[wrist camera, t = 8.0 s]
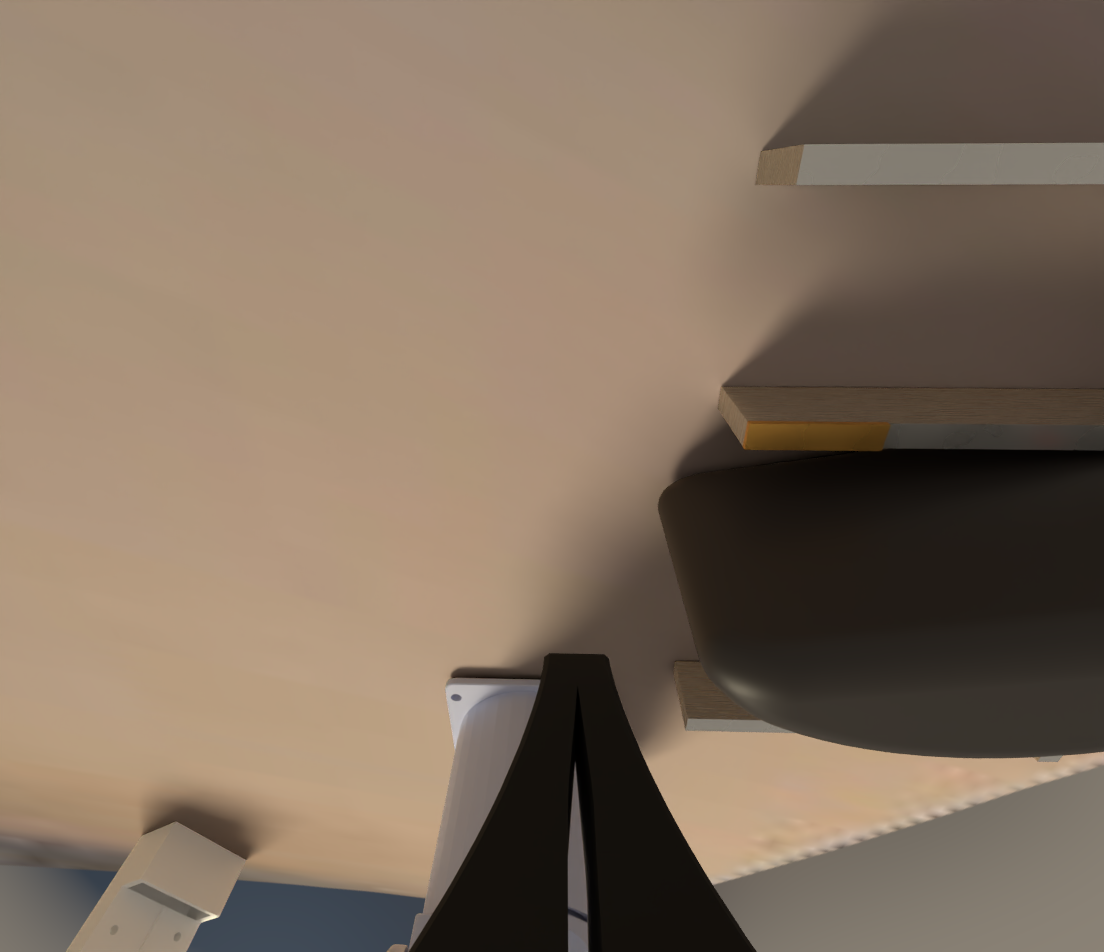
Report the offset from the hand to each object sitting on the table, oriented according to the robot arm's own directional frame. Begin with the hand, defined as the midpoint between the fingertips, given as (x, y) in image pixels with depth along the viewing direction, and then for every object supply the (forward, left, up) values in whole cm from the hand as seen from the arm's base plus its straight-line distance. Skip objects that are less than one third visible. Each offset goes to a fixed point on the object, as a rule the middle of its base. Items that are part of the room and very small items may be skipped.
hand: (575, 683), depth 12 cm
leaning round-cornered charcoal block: (+1, -11, -9) cm, 15 cm away
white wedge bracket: (-29, +25, -9) cm, 39 cm away
